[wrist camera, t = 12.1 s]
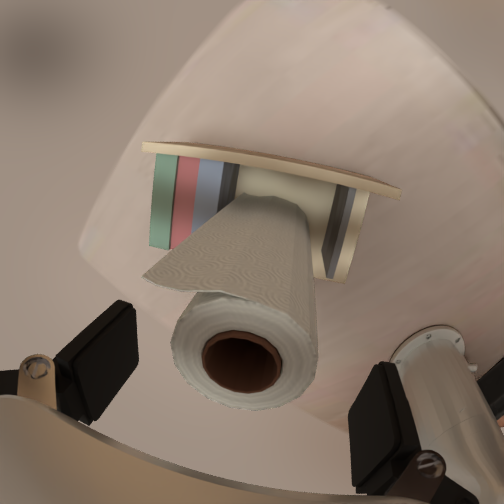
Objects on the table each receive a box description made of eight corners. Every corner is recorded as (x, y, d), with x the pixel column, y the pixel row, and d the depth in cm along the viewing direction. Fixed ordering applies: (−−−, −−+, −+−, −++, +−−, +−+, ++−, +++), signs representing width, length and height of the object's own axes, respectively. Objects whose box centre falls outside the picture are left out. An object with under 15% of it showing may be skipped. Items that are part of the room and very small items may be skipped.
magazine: (417, 476, 34) (570, 408, 15) (408, 473, 33) (569, 402, 15) (421, 401, 47) (545, 328, 29) (413, 396, 47) (542, 319, 29)
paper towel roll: (312, 249, 31) (322, 411, 11) (256, 257, 32) (193, 412, 12) (302, 182, 29) (306, 258, 9) (243, 192, 30) (137, 278, 10)
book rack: (188, 142, 31) (142, 141, 21) (369, 176, 29) (401, 190, 19) (177, 243, 35) (134, 278, 25) (342, 278, 33) (357, 329, 23)
